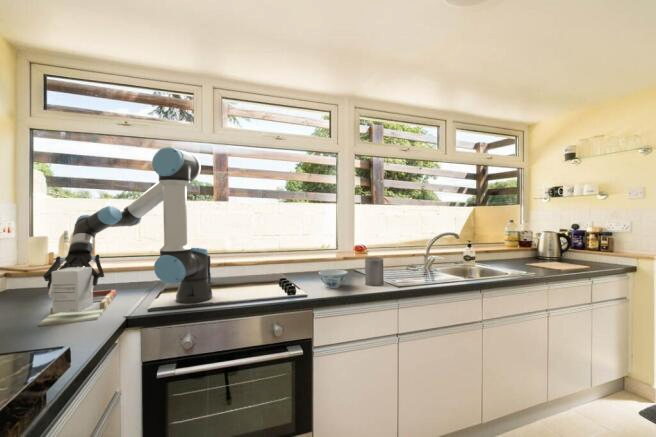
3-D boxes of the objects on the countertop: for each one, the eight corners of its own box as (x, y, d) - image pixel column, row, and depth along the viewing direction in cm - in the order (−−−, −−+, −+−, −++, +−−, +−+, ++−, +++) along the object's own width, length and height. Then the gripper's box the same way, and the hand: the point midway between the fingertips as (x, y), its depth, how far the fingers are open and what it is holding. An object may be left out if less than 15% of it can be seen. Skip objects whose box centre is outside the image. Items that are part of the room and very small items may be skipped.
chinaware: (352, 285, 171) (352, 271, 171) (338, 291, 159) (338, 275, 159) (328, 282, 179) (328, 268, 179) (312, 287, 167) (312, 272, 167)
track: (72, 298, 149) (72, 291, 149) (116, 294, 156) (116, 288, 156) (38, 326, 112) (38, 317, 112) (97, 319, 119) (97, 311, 119)
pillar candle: (370, 281, 181) (370, 254, 181) (386, 283, 175) (386, 255, 175) (361, 284, 173) (361, 256, 173) (378, 287, 168) (378, 258, 167)
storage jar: (199, 286, 171) (198, 258, 171) (187, 284, 176) (187, 256, 176) (214, 282, 180) (214, 255, 179) (203, 281, 185) (202, 254, 185)
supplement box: (69, 305, 125) (68, 266, 125) (93, 305, 126) (93, 266, 126) (51, 313, 116) (50, 271, 116) (77, 312, 117) (77, 270, 117)
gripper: (116, 251, 140) (110, 296, 126) (47, 254, 130) (32, 303, 116) (114, 240, 135) (107, 285, 121) (42, 242, 125) (25, 291, 111)
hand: (70, 294), depth 119 cm, fingers closed on supplement box, 11 cm apart
